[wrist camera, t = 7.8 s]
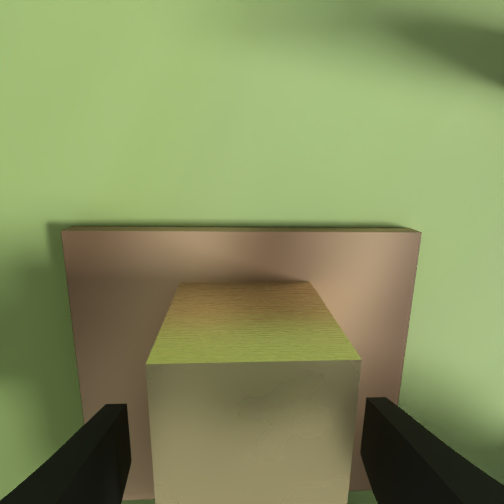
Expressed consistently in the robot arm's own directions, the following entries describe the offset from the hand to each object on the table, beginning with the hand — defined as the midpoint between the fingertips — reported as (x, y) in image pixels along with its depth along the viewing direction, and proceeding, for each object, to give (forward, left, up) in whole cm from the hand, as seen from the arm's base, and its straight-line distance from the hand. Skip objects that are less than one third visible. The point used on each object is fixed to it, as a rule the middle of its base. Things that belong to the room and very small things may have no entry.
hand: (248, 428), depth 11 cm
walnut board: (0, 0, -3) cm, 3 cm away
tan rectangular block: (0, +1, -3) cm, 3 cm away
